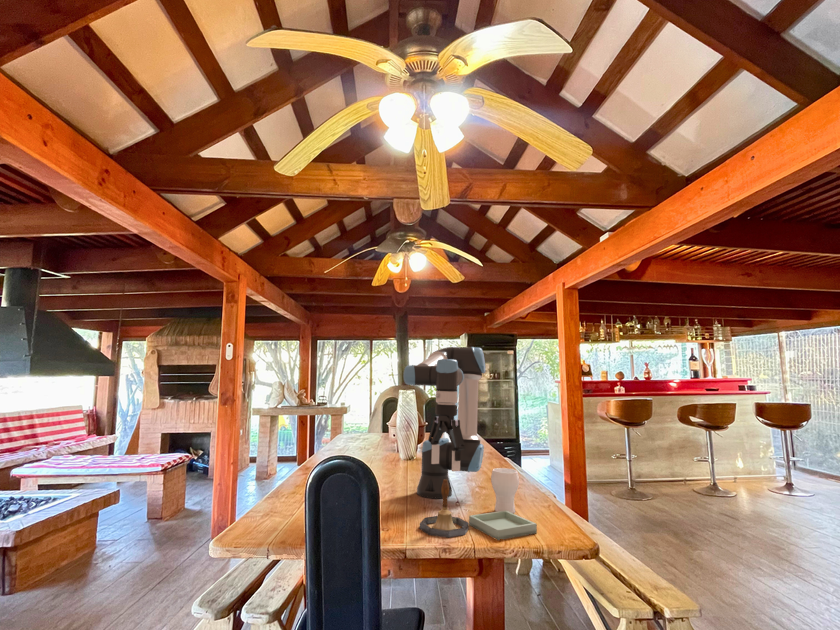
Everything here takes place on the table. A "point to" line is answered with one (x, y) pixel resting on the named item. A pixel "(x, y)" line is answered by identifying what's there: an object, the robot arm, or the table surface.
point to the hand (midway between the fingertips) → (445, 467)
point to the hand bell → (444, 511)
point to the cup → (505, 488)
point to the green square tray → (502, 524)
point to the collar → (444, 532)
